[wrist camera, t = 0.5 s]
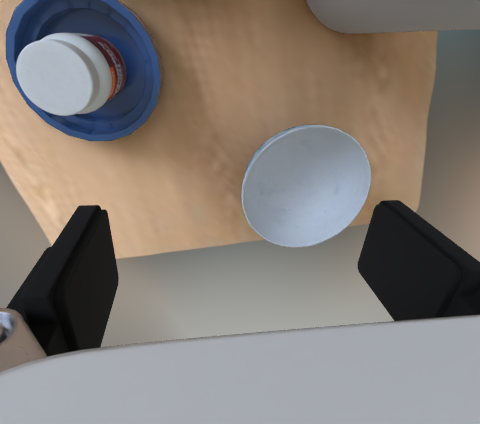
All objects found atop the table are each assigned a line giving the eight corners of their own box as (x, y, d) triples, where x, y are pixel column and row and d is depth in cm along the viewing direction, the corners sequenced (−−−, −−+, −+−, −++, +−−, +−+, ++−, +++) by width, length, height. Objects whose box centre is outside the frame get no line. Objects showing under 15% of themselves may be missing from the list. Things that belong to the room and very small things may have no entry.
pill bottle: (137, 89, 34) (115, 110, 24) (83, 106, 34) (40, 133, 24) (111, 26, 31) (74, 19, 21) (51, 44, 31) (-13, 46, 21)
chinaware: (222, 125, 37) (229, 143, 31) (341, 98, 38) (374, 111, 31) (243, 227, 45) (253, 259, 38) (342, 203, 45) (369, 232, 39)
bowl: (6, -14, 28) (-19, -21, 25) (155, -7, 30) (151, -13, 27) (47, 132, 35) (31, 142, 31) (168, 130, 37) (166, 139, 33)
